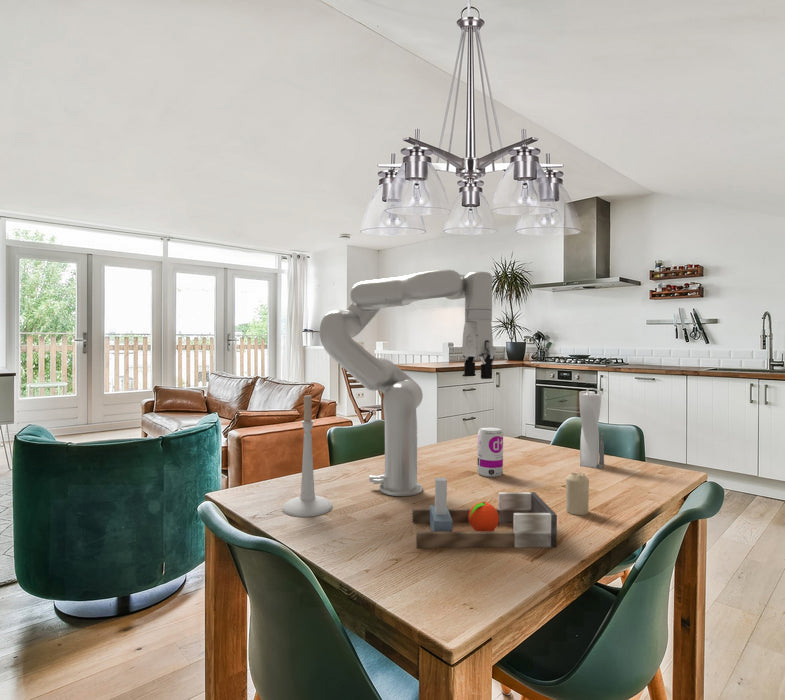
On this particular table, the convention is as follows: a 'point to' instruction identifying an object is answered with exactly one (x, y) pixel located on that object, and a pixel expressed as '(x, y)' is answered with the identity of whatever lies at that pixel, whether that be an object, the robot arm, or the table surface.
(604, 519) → the table surface
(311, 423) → the candlestick
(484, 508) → the clementine
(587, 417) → the skyscraper
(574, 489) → the candle
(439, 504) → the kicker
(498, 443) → the supplement can
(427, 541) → the frame
